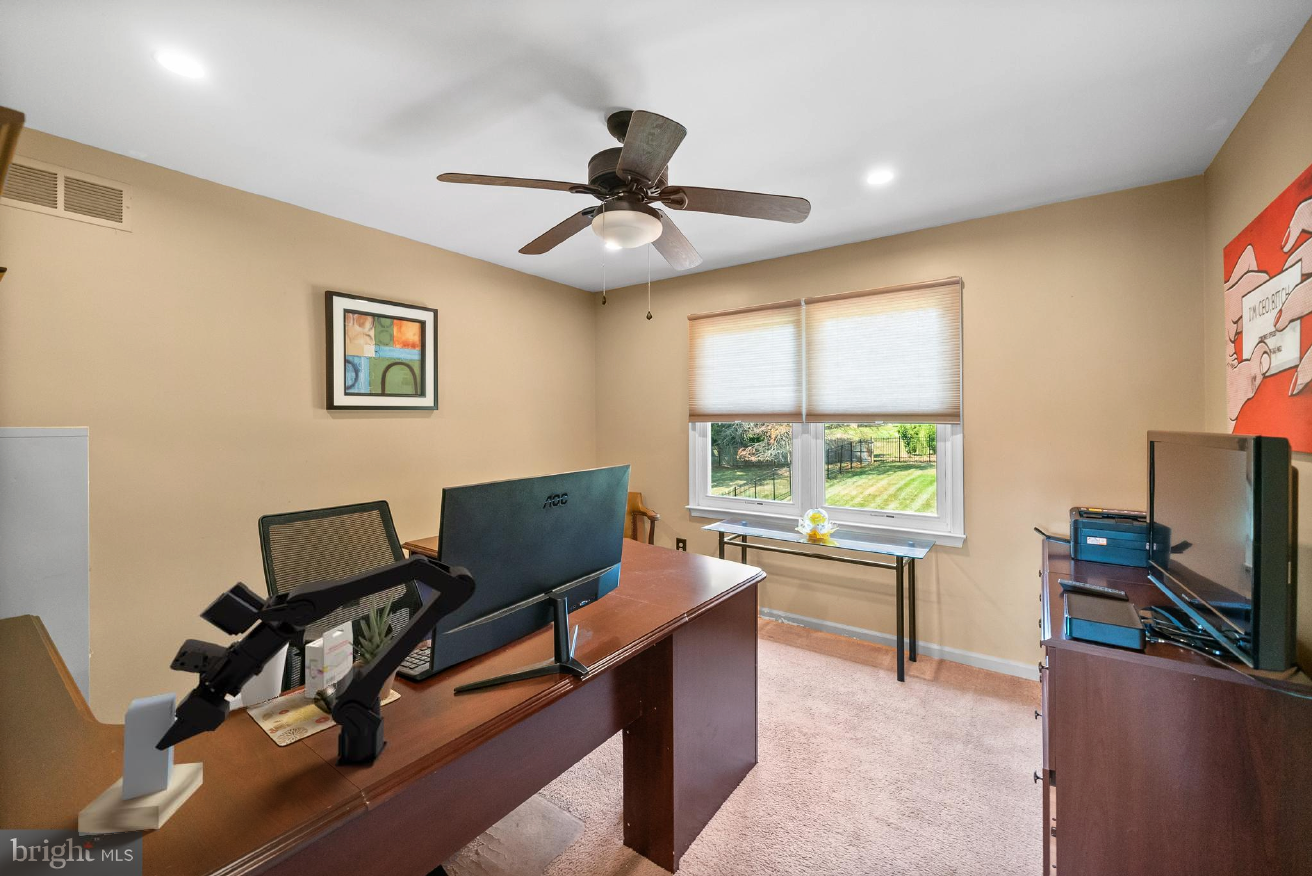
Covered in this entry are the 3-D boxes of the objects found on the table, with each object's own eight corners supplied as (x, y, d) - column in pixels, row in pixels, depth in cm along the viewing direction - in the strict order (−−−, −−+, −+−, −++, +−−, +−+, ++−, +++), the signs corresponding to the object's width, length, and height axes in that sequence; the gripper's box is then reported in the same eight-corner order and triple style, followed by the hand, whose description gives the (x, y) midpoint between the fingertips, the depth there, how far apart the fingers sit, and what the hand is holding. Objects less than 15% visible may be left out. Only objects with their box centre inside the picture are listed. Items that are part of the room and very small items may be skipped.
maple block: (202, 785, 88) (202, 762, 88) (158, 831, 78) (158, 805, 78) (132, 791, 86) (132, 767, 86) (78, 839, 76) (78, 812, 76)
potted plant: (396, 681, 123) (398, 577, 123) (401, 700, 115) (403, 589, 114) (346, 691, 118) (348, 583, 117) (348, 712, 110) (350, 596, 109)
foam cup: (296, 687, 119) (297, 631, 118) (273, 709, 110) (273, 648, 109) (249, 689, 117) (250, 632, 117) (222, 712, 108) (223, 650, 108)
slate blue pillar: (173, 770, 85) (175, 691, 85) (167, 789, 81) (170, 706, 81) (130, 781, 82) (133, 699, 82) (122, 800, 78) (124, 715, 78)
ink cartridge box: (334, 679, 123) (335, 617, 123) (353, 681, 122) (354, 619, 122) (303, 697, 115) (304, 631, 114) (322, 700, 114) (323, 634, 113)
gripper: (225, 604, 93) (141, 678, 88) (195, 645, 77) (90, 739, 72) (279, 639, 97) (202, 712, 92) (261, 685, 81) (166, 777, 76)
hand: (168, 732), depth 83 cm, fingers open, 9 cm apart
